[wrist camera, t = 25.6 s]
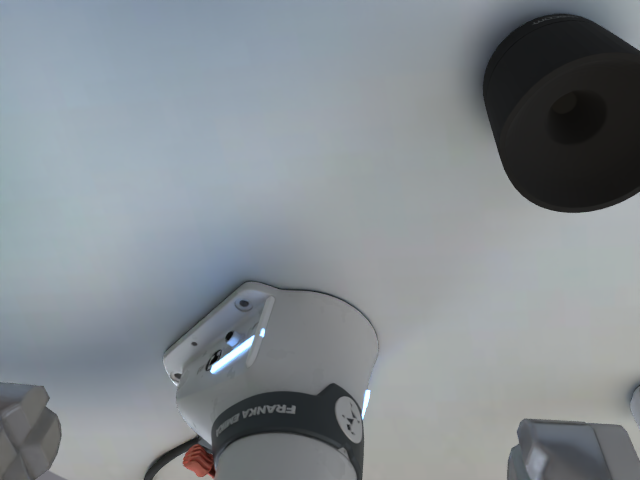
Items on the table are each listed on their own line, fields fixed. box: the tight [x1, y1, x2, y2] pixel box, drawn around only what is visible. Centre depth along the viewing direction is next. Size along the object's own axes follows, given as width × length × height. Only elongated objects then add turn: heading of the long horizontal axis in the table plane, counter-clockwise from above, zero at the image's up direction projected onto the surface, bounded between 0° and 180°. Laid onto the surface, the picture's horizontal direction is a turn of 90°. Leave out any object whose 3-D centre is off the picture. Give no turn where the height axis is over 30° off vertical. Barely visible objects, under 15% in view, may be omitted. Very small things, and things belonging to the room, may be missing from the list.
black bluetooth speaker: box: [483, 14, 640, 213], centre depth 34 cm, size 9×9×10 cm
